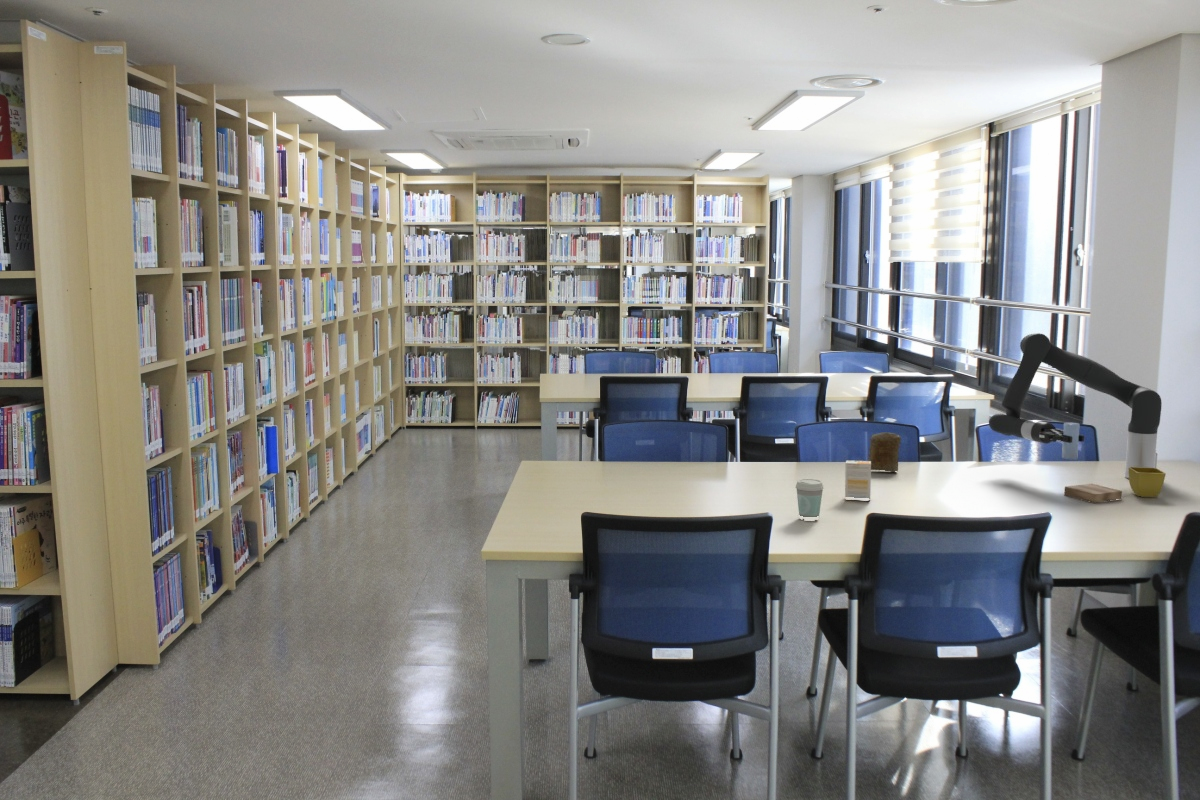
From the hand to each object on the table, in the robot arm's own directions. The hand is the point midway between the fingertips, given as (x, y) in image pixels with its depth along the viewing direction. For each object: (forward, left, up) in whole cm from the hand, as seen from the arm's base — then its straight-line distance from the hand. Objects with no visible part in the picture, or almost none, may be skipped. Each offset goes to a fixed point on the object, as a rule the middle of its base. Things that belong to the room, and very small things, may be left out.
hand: (1077, 439), depth 310 cm
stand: (0, +7, -19) cm, 20 cm away
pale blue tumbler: (0, -3, -7) cm, 7 cm away
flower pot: (-18, +12, -19) cm, 29 cm away
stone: (+38, -54, -19) cm, 68 cm away
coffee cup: (+103, -6, -19) cm, 105 cm away
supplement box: (+74, -21, -19) cm, 79 cm away
